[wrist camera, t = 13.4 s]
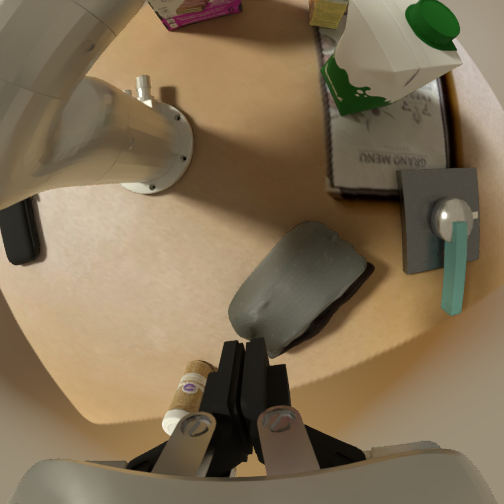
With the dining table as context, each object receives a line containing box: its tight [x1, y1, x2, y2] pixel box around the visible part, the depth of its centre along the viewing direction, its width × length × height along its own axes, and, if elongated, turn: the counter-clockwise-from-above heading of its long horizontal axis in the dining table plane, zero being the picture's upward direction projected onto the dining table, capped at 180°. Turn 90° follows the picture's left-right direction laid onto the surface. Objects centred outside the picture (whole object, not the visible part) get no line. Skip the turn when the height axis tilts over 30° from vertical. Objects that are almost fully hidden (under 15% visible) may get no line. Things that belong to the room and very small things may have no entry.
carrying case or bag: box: [0, 196, 40, 265], centre depth 38 cm, size 11×3×15 cm
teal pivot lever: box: [431, 198, 473, 316], centre depth 33 cm, size 6×16×4 cm, turn 8°
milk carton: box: [320, 0, 463, 116], centre depth 22 cm, size 9×9×20 cm
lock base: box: [396, 168, 479, 274], centre depth 34 cm, size 14×14×2 cm
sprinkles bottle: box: [162, 361, 213, 436], centre depth 36 cm, size 5×5×14 cm
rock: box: [228, 221, 375, 359], centre depth 35 cm, size 18×11×8 cm, turn 141°
